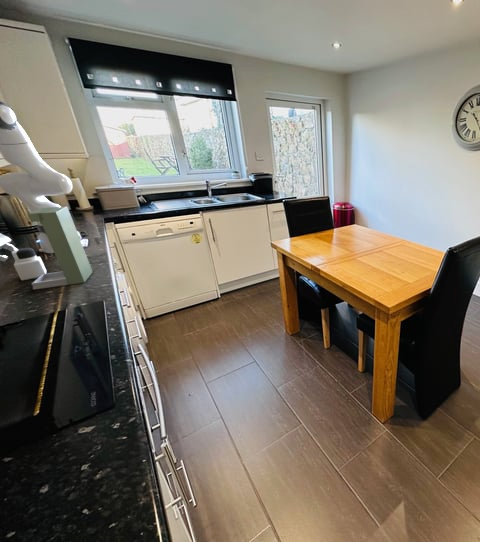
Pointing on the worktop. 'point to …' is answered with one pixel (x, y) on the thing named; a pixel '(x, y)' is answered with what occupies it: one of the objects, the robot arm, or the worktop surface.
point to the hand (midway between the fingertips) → (12, 256)
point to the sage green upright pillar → (62, 248)
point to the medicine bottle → (28, 264)
